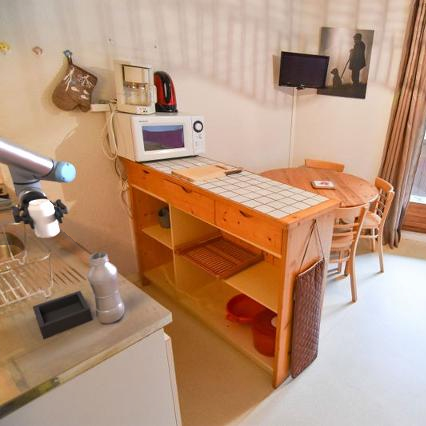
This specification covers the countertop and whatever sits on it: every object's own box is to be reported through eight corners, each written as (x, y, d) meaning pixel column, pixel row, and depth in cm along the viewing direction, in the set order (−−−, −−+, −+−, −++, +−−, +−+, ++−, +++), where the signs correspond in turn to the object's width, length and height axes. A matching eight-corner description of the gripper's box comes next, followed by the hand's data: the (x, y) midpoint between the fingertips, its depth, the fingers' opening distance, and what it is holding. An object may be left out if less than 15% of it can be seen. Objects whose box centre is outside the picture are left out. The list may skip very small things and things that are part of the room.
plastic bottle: (93, 319, 86) (76, 256, 79) (119, 306, 92) (106, 246, 84) (104, 330, 83) (89, 265, 76) (130, 316, 89) (118, 254, 81)
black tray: (43, 339, 79) (39, 327, 78) (36, 317, 86) (32, 306, 84) (92, 320, 86) (90, 308, 85) (83, 301, 93) (80, 290, 91)
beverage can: (32, 236, 104) (21, 202, 100) (53, 229, 110) (44, 196, 105) (43, 241, 102) (33, 206, 97) (64, 233, 107) (55, 200, 103)
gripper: (69, 204, 122) (85, 225, 108) (0, 216, 109) (8, 241, 95) (64, 186, 120) (80, 204, 105) (-7, 196, 106) (1, 218, 92)
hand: (46, 222), depth 100 cm, fingers closed on beverage can, 6 cm apart
